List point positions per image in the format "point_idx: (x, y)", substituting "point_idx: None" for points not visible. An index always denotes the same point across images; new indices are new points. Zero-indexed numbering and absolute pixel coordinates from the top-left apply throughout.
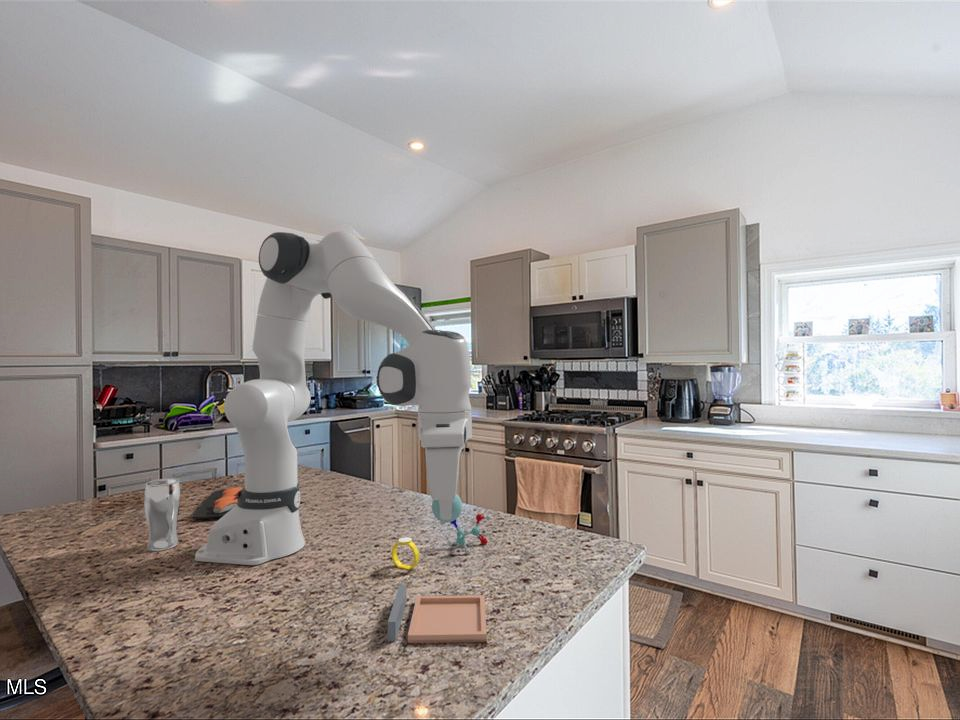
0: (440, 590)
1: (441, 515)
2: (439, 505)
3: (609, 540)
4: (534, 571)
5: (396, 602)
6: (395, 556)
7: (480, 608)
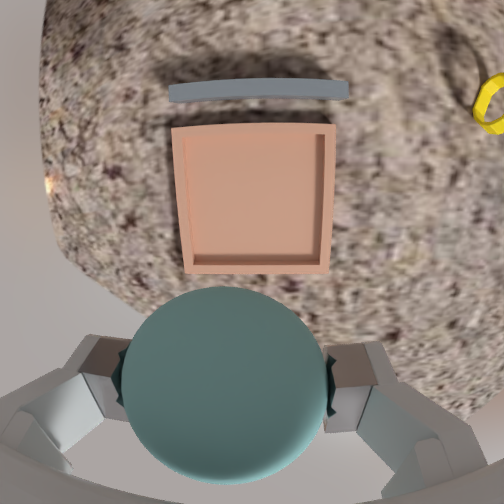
0: (384, 175)
1: (81, 347)
2: (37, 379)
3: None
4: (418, 348)
5: (254, 84)
6: (501, 81)
7: (275, 265)
